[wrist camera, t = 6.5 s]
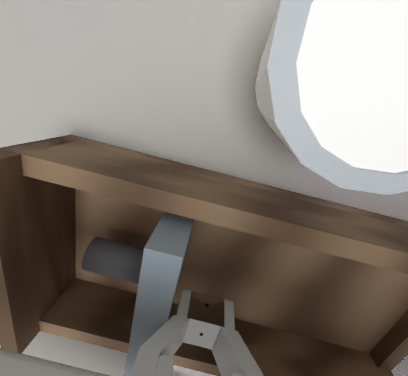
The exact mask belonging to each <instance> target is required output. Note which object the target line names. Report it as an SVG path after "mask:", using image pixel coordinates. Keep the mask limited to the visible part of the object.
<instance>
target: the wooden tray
mask: <svg viewBox="0 0 408 376" xmlns="http://www.w3.org/2000/svg"><path fill="white" fill-rule="evenodd" d="M164 212H168V213H172V214H175V215H179V216H183V217H187V218H191V219H194V222H193V226H192V229H191V233H190V237H189V241H188V245H187V249H186V253H185V257H184V261H183V265H182V269H181V273H180V276H179V280H178V284H177V288H176V292H175V296H174V300H173V304H172V308H171V311H170V315H169V319H170V318H171V317H172V316H173V315H176V310H177V307H178V303H179V299H180V296H181V292H182V289H183V288H184V289H188V290H191V291H196V292H199V293H203V294H207V295H211V296H216V297H220V298H223V299H227V300H231V301H233V304H234V322H235V331H238V333H239V334H240V336H241V338H242V339H243V341H244V343H245V344H246V346H247V348H248V350H249V351H250V353H251V355H252V356H253V358H254V360H255V361H256V363H257V365H258V367H259V368H260V370H261V372H262V373H263V375H264V376H394V375H393V374H392V372H391V370H392V369H393V368H394V367H395V366H396V365H397V364H398V363H399V362H400V361H401V360H402V359H403V358H404V357H405V356H407V355H408V222H406V221H403V220H399V219H395V218H391V217H387V216H383V215H379V214H375V213H372V212H368V211H364V210H360V209H356V208H352V207H348V206H344V205H341V204H337V203H333V202H329V201H325V200H321V199H317V198H313V197H310V196H306V195H302V194H298V193H294V192H290V191H286V190H282V189H279V188H275V187H271V186H267V185H263V184H259V183H255V182H251V181H248V180H244V179H240V178H236V177H232V176H228V175H224V174H220V173H216V172H213V171H209V170H205V169H201V168H197V167H193V166H189V165H185V164H182V163H178V162H174V161H170V160H166V159H162V158H158V157H154V156H151V155H147V154H143V153H139V152H135V151H131V150H127V149H123V148H120V147H116V146H112V145H108V144H104V143H100V142H96V141H92V140H89V139H85V138H81V137H77V136H73V135H67V136H62V137H56V138H51V139H45V140H40V141H35V142H29V143H24V144H19V145H13V146H8V147H2V148H0V345H1V349H5V350H9V351H13V352H17V353H22V352H23V351H24V350H25V348H26V347H27V346H28V345H29V343H30V342H31V341H32V340H33V339H34V337H35V336H36V335H37V333H38V332H39V331H43V332H47V333H51V334H55V335H59V336H63V337H67V338H71V339H75V340H79V341H83V342H86V343H90V344H94V345H99V346H102V347H106V348H110V349H114V350H118V351H122V352H126V353H128V348H129V342H130V335H131V329H132V322H133V316H134V310H135V303H136V297H137V290H138V284H136V283H132V282H128V281H124V280H120V279H116V278H112V277H109V276H105V275H101V274H97V273H93V272H89V271H85V270H83V269H82V259H83V255H84V253H85V250H86V249H87V247H88V245H89V244H90V242H91V241H92V240H93V239H94V238H96V237H101V238H105V239H109V240H113V241H117V242H121V243H125V244H129V245H133V246H136V247H140V248H144V247H145V245H146V244H147V242H148V240H149V238H150V237H151V235H152V233H153V231H154V229H155V228H156V226H157V224H158V222H159V221H160V219H161V217H162V215H163V214H164ZM169 319H168V320H169ZM172 358H173V359H174V364H173V365H177V366H181V367H185V368H189V369H193V370H197V371H201V372H205V373H208V374H212V375H216V376H221V374H220V371H219V368H218V366H217V363H216V360H215V358H214V355H213V352H212V350H211V349H207V348H204V347H200V346H197V345H192V344H187V343H182V345H181V346H180V347H179V348H178V350H177V351H176V352H175V354H174V355H173V356H172Z"/></svg>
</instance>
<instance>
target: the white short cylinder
mask: <svg viewBox="0 0 408 376" xmlns="http://www.w3.org/2000/svg"><path fill="white" fill-rule="evenodd" d="M255 94H256V100H257V106H258V110H259V111H260V113H261V114H262V116H263V117H264V119H265V120H266V122H267V123H268V125H269V126H270V127H271V129H272V130H273V131H274V132H275V133H276V135H277V136H278V137H279V138H280V139H281V141H282V142H283V143H284V144H285V145H286V147H287V148H288V149H289V150H290V151H291V153H292V154H293V155H294V156H295V157H296V159H297V160H298V161H299V162H300V163H301V164H302V165H304V166H305V167H307V168H308V169H310V170H312V171H313V172H315V173H316V174H318V175H320V176H321V177H323V178H325V179H326V180H328V181H329V182H331V183H333V184H334V185H336V186H337V187H339V188H344V189H350V190H357V191H364V192H370V193H377V194H384V195H392V194H398V193H403V192H408V0H280V3H279V6H278V9H277V12H276V15H275V18H274V21H273V24H272V27H271V30H270V33H269V36H268V39H267V42H266V45H265V48H264V51H263V54H262V58H261V61H260V64H259V68H258V73H257V78H256V83H255Z"/></svg>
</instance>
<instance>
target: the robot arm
mask: <svg viewBox="0 0 408 376" xmlns="http://www.w3.org/2000/svg"><path fill="white" fill-rule="evenodd" d="M182 343H187V344H192V345H197V346H200V347H204V348H207V349H211V350H212V352H213V355H214V358H215V360H216V363H217V366H218V368H219V371H220V374H221V376H264V375H263V373H262V372H261V370H260V368H259V367H258V365H257V363H256V361H255V360H254V358H253V356H252V355H251V353H250V351H249V350H248V348H247V346H246V344H245V343H244V341H243V339H242V338H241V336H240V334H239V333H238V331H235V322H234V304H233V301H231V300H227V299H223V298H220V297H216V296H211V295H207V294H203V293H199V292H196V291H191V290H188V289H184V288H183V289H182V292H181V296H180V299H179V303H178V307H177V310H176V315H173V316H172V317H171V318H170V319H169V320H168V321H167V322H166V323H165V324H164V325H163V326H162V327H161V328H160V329H159V330H158V331H157V332H155V333H154V334H153V335H152V336H151V337H150V338H149V339H148V340H147V341H146V342H145V343H144V344H143V345H142V346H141V347H140V349H139V352H138V355H137V357H136V360H135V363H134V366H133V369H132V372H131V374H130V376H171V375H172V369H173V364H174V359H173V358H172V356H173V355H174V354H175V352H176V351H177V350H178V348H179V347H180V346H181V345H182ZM0 376H109V375H105V374H101V373H97V372H93V371H89V370H85V369H81V368H77V367H72V366H69V365H65V364H61V363H57V362H53V361H49V360H45V359H41V358H37V357H33V356H29V355H25V354H21V353H17V352H13V351H9V350H5V349H1V348H0Z"/></svg>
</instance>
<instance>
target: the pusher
mask: <svg viewBox="0 0 408 376" xmlns="http://www.w3.org/2000/svg"><path fill="white" fill-rule="evenodd" d="M193 222H194V219H191V218H187V217H183V216H179V215H175V214H172V213H168V212H164V214H163V215H162V217H161V219H160V221H159V222H158V224H157V226H156V228H155V229H154V231H153V233H152V235H151V237H150V238H149V240H148V242H147V244H146V245H145V247H144V248H140V247H136V246H133V245H129V244H125V243H121V242H117V241H113V240H109V239H105V238H101V237H96V238H94V239H93V240H92V241H91V242H90V244H89V245H88V247H87V249H86V250H85V253H84V255H83V259H82V269H83V270H85V271H89V272H93V273H97V274H101V275H105V276H109V277H112V278H116V279H120V280H124V281H128V282H132V283H136V284H138V290H137V297H136V303H135V310H134V316H133V322H132V329H131V335H130V342H129V348H128V355H127V361H126V368H125V374H124V376H130V374H131V372H132V369H133V366H134V363H135V360H136V357H137V355H138V352H139V349H140V347H141V346H142V345H143V344H144V343H145V342H146V341H147V340H148V339H149V338H150V337H151V336H152V335H153V334H154V333H155V332H157V331H158V330H159V329H160V328H161V327H162V326H163V325H164V324H165V323H166V322H167V321H168V319H169V315H170V311H171V308H172V304H173V300H174V296H175V292H176V288H177V284H178V280H179V276H180V273H181V269H182V265H183V261H184V257H185V253H186V249H187V245H188V241H189V237H190V233H191V229H192V226H193Z"/></svg>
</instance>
